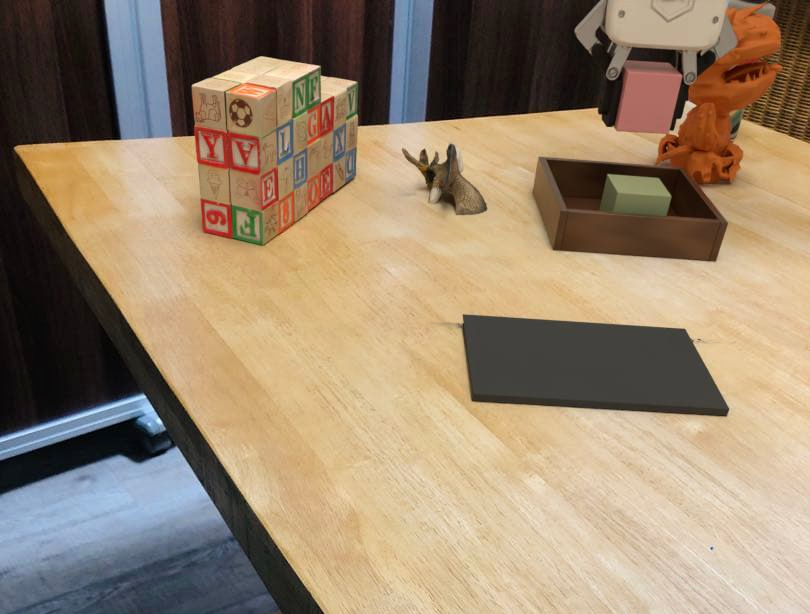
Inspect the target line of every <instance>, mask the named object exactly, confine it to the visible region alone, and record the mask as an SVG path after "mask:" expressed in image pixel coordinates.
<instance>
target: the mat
mask: <svg viewBox="0 0 810 614" xmlns="http://www.w3.org/2000/svg"><path fill="white" fill-rule="evenodd" d="M461 326H462V327H461V328H462V334H463V341H464V349H465V356H466V365H467V371H468V378H469V379H468V380H469V386H470V393H471V401H474V402H488V403H491V402H492V403H506V404H521V405H523V404H524V405H541V406H556V407H557V406H558V407H573V408H589V409H605V410H621V411H623V410H625V411H639V412H640V411H641V412H656V413H671V414H672V413H675V414H691V415H706V416H708V415H709V416H725V417H727V416H728V415H729V411H730V407H729V405H728V404H727V402H726V400H725V398H724V396H723V394H722V393H721V391H720V388H719V387H718V385H717V383H716V382H715V380H714V378H713V376H712V374H711V373H710V371H709V369H708V367H707V366H706V363H705V362H704V360H703V358H702V356H701V355H700V353H699V350H697V348H696V346H695V344H694V341H693V340H692V338H691V337H690V334H689V333H688V331H687V329H686V328H679V327H665V326H651V325H636V324H635V325H633V324H621V323H620V324H617V323H605V322H604V323H603V322H589V321H575V320H574V321H573V320H559V319H558V320H557V319H543V318H542V319H541V318H526V317H514V316H513V317H512V316H511V317H510V316H497V315H495V316H494V315H483V314H482V315H481V314H467V313H463V314H462V322H461Z"/></svg>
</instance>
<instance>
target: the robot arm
mask: <svg viewBox="0 0 810 614" xmlns="http://www.w3.org/2000/svg"><path fill="white" fill-rule="evenodd" d="M728 3H729V0H599V1H598V2H597V3H596V4H595V6H594V7H593V8H591V10H590V11H589V12H588V13H587V14H586V15H585V17H584V18H583V19H582V20H581V21H580V22H579V23H578V24H577V26H575V28H574V31H573V32H574V36H575V37H576V39H577V40H578V41H579V43H581V45H582V46H583V47H584V48H585V49H586V50H587V51H588V53H589V54H590V55H591V57H592V58H593V60H594V61H595V63H596V64H597V66H598V67H599V69H600V70H601V72H602V73H603V78H602V82H601V88H600V93H599V94H600V95H599V100H598V105H597V113H598V115H601V121H602V122H603V123H604V125H605V127H606V128H614V127H613V126H614V125H615V122H616V117H617V112H618V107H619V102H620V97H621V92H622V87H623V82H622V81H621V80H620V77H621V70H622V68H623V66H624V63H625V61H626V60H628V57H629V55H630V53H631V51H632V49H633V48H640V49H641V48H643V49H658V50H675V69H676V70H677V71H678V72H679V73H680V74H681V75H682V80H681V84H680V89H679V93H678V97H677V101H676V105H675V110H674V114H673V118H672V122H671V126H670V131H671V132H672V131H674V130H675V127H676V124H677V120H681V119H682V117H683V114H684V110H685V106H686V103H687V99H688V90H689V86H690V85H691V84H693V83H694V82H695V81H696V79H697V77H698V76H699V75H700V74H702V73H703V72H704V71H705V70H706V69H708V68H709V67H710V66H711V65H712V64H713V63H714V62H715V61H716V60H717V59H720V58H721V57H722V56H724V55H725V54H727V53H728V52H730V51H731V50H732V49H734V48H735V47H736V46H737V43H738V40H737V38H736V35H735V33H734V30H733V28H732V26H731V23H730V21H729V18H728V16H727V14H726V10H727V6H728ZM599 28H600V29H601V31H602V32H603V33H604V34H606V35H607V36H608V39H609V40H610V41H611V43H610V45H609V46H608V49H606V47H605V46H604V44H603V43H602V42H601V41H600V40H599V39H598V38H597V35H596V33H597V30H598V29H599ZM696 50H700V51H699V52H698V53H696ZM670 131H669V132H670Z"/></svg>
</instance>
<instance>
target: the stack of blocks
mask: <svg viewBox="0 0 810 614" xmlns="http://www.w3.org/2000/svg"><path fill="white" fill-rule="evenodd" d="M358 88H359V82H358V81H355V80H349V79H344V78H339V77H333V76H324V75H322V66H321V65H318V64H317V65H316V64H311V63H310V64H309V63H303V62H297V61H291V60H286V59H279V58H273V57H268V56H258V57H256V58H255V57H254V58H253V59H251V60H248V61H246V62H243V63H241V64H239V65H236V66H234V67H232V68H231V69H228V70H225V71H223V72H221V73H219V74H216V75H214V76H212V77H208V78H205V79H203V80H201V81H198V82H196V83H193V84H192V85H191V98H192V109H193V119H194V120H193V121H194V126H193V130H194V131H193V132H194V142H195V144H194V145H195V154H196V162H197V170H198V171H197V172H198V181H199V192H200V211H201V224H202V225H201V226H202V231H203V232H204V233H207V234H212V235H216V236H221V237H225V238H229V239H235V240H239V241H243V242H247V243H250V244H251V243H252V244H256V245H261V246H264V245H266V244H267V243H268V242H270V241H271V240H272V239H274V238H276V236H277V235H279V234H281V233H283V232H284V231H285V230H287V229H288V228H289V227H291V226H292V225H293V224H294V223H296V222H298V221H299V220H300V219H302V218H303V217H304V216H305V215H306V214H308V212H309V211H310V210H312V209H313V208H314V207H316V206H317V205H318V204H320V203H321V202H322V201H323V200H325V199H326V198H327V197H329V196H330V195H331V194H332V193H336V191H337V190H339V189H340V188H342V187H343V186H344V185H345V184H347V183H349V181H351V180H352V179H353V178H355V177H356V175H357V153H358V146H357V145H358V132H359V129H358V128H359V115H358V92H359V89H358Z"/></svg>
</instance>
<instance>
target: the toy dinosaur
mask: <svg viewBox="0 0 810 614" xmlns="http://www.w3.org/2000/svg"><path fill="white" fill-rule="evenodd" d="M767 3H768V2H765V3H763V4H761V5H758V6H756V7H755V6H753V7H746V8H744V9H743V10H741V11H738V9H735V8H732V9H727V8H726V14H727V16H728V18H729V21H730V23H731V26H732V28H733V30H734V33H735V35H736V38H737V40H738V43H737V46H736V47H735V48H734V49H732V50H731V51H730V52H728V53H727V54H725V55H724V56H722V57H721V58H720V59H717V60H716V61H715V62H714V63H713V64H712V65H711V66H710V67H709V68H708V69H706V70H705V71H704V72H703V73H702V74H700V75H699V76H698V77H697V79H696V81H695V82H694V83H693V84H691V85H690V86H689V90H688V94H687V98H688V102H689V103H691V104H693V105H695V106H693V107H692V108H691V109H690V110H689V111H688V112H687V113H686V118H685V119H684V121H683V122H682V124H680V125H679V127H678V128H679V129H678V131H677V135H676V134H673V133H669V134H665V135H664V137H661V139H660V140H659V143H658V146H657V158H656V160H655V163H654V164H653V165H657V166H658V165H659V164H660V163H661V162H662V163H663V162H666V161H668V160H669V165H668V166H670V167H684V168H685V169H686V170H687V171H688V173H689V174H690V175H691V176H692V178H693V179H694V180H695V181H696V183H699V184H700V183H701V184H714V183H718V182H720V181H721V180H729V181H728V182H729V183H730V184H732V183H733V181H734V179H735V178H736V176H737V173H738V172H739V171H740V170H741V165H740V163H741V162H742V160H743V157H744V150H743V149H741V146H739V145H738V144H735V143H734V142H735V140H732V139H730V138H729V137H730V132H731V131H732V123H731V120H730V114H729V113H730V112H732V111H734V110H741V109H743V108H745V109H746V107H749V106H750V105H752V104H754V103H756V101H758V100H759V99H760V98H762V97H764V96H765V95H767V93H768V90H769V89H770V87H771V86H772V85H773V84H774V82H775V80H776V77H777V73H779V72H780V73H781V72H782V71H783V70H784V69H783V65H781V64H777V63H768V62H767V61H763V60H764V59H765V58H767V59H769V58H770V57H771V56H772V55H773V54H777V53H778V52H779V51H780V49H781V46H782V44H781V42H782V32H781V30H780V27H779V26H778V24H777V23H776V22H775V21H774V20H773V19H771V18H770V16H766V15H762V14H756V13H753V12H756V11H758V10H759V9H761V8H762V7H764V6H765V5H766V4H767ZM699 51H700V50H696V53H698V52H699ZM758 58H759V61H760V62H754V60H755V59H758ZM750 59H752V62H750V63H747V64H743V63H744V62H746V60H750ZM737 64H743V65H737ZM735 65H737V66H735ZM733 66H735V67H734V68H732V69H729V68H731V67H733Z"/></svg>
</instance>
